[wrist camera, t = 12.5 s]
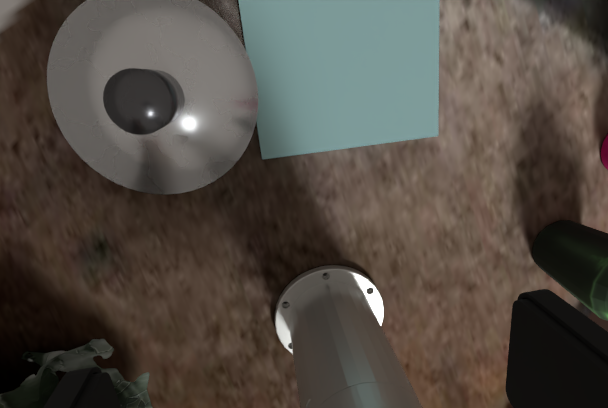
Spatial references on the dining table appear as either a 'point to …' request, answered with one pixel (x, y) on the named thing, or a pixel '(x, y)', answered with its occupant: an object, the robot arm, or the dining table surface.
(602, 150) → the pepper mill
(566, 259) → the potion bottle
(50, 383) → the rose bouquet
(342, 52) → the teal mat
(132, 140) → the metal lid
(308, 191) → the dining table surface
